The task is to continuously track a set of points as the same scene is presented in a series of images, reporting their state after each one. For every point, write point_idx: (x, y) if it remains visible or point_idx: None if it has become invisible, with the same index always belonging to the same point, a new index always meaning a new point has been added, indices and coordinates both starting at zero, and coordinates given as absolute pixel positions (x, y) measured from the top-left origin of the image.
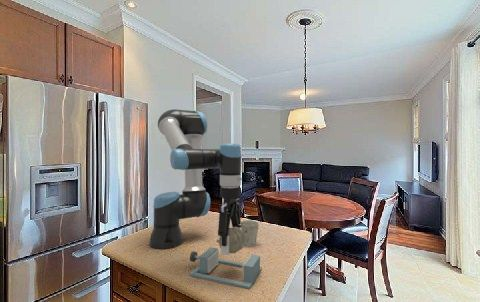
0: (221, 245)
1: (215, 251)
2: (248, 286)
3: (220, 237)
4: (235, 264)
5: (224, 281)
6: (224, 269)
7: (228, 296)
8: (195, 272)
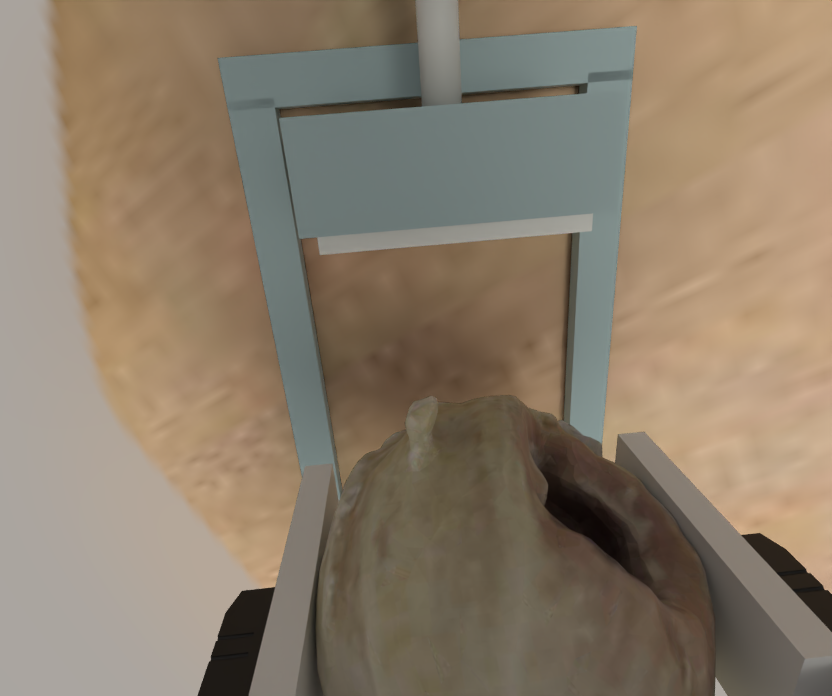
0: (284, 555)
1: (543, 214)
2: None
3: (364, 571)
4: (572, 358)
5: (289, 408)
6: (482, 298)
7: (183, 484)
8: (271, 103)
